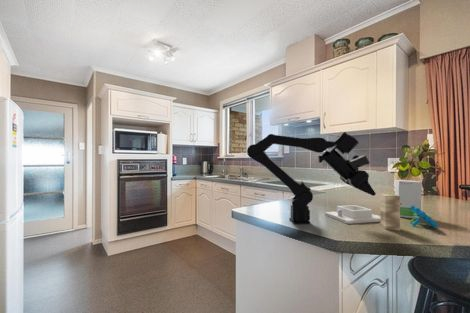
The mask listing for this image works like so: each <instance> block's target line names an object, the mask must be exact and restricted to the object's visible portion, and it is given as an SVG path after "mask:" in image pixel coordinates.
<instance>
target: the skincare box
mask: <svg viewBox="0 0 470 313" xmlns="http://www.w3.org/2000/svg"><path fill="white" fill-rule="evenodd" d="M394 194H395V195H398V196H400V218H407V219H408V218H409V219H413V216H414V215H413V214H415V213H414V212H413V211H412V209H410V207H411V206H414V207H417V208H419V210H420V211H422V181H418V180H408V179H407V180H406V179H405V180H404V179H394Z"/></svg>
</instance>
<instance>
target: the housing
mask: <svg viewBox="0 0 470 313" xmlns="http://www.w3.org/2000/svg"><path fill="white" fill-rule="evenodd" d="M324 215H325V216H326V217H329V218H332V219H334V220H337V221H338V222H341V223H344V224H346V225H350V224H351V225H352V224H363V223H364V224H365V223H375V222H376V223H377V222H381V215H377V214H373V209H370V208H369V207H363V206H360V205H356V204H352V205H336V211H324Z"/></svg>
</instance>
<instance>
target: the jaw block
mask: <svg viewBox="0 0 470 313" xmlns="http://www.w3.org/2000/svg"><path fill="white" fill-rule="evenodd" d="M380 216H381V221H380V227H382V228H383V229H384V230H389V231H401V217H400V196H398V195H395V193H380Z"/></svg>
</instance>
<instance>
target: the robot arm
mask: <svg viewBox="0 0 470 313" xmlns="http://www.w3.org/2000/svg"><path fill="white" fill-rule="evenodd" d="M273 145H280V146H286V147H294V148H301V149H302V150H303V149H304V150H307V151H310V152H313V153H315V154H321V153H322V155H318V157H317V159H318V161H317V163H319V164H322V163H323V162H325V163H326V164H327V165H328V166H329V167H330V168H331V169H333V171H334V172H335V173H337V174H338V175H339V179H340V180H341V182H342V183H344V184H346V185H349V186H350V187H353V188H354V189H358V190H359V191H362V192H364V193H366V194H369V195H370V196H373V197H374V196H376V195H377V193H376V192H375V190H374V189H373V187H372V186H371V184H370V183H369V177H370V175H369V173H368V172H367V171H366V170H362V169H359V168H361V167H363V166H366V165H369V164H370V161H369V158H368V157H367V155H365V154H364V155H360V156H359V155H357V154H356V155H352V156H351V159H346V158H345V157H344V156H343V155H344V154H346V155H348V154H349V153H350V152H352V151H353V150H354V149H355V148H356V147H357V146H358V145H360V142H359V141H358V139H356V138H355V136H352V135H351V134H348V133H347V132H346V131H343V132H342V133H341V134H340V136H339V137H338V138H337V139H336V140H335V141H333V140H332V141H331V140H326V138H324V137H308V138H303V137H302V138H301V137H293V136H286V135H278V134H273V133H270V134H268V135H267V136H266V137H264V138H263V139H261V140H259V141H258V142H257V143H255V144H251V145H249V146H248V148H247V150H246V154H247V155H248V157H249V158H251V159H252V160H254V161H255V162H257V163H259V164H260V165H263V166H264V167H265V168H266V169H267V170H268V171H270V173H272V174H273V175H274V176H275V177H276V178H277V179H278V180H280V182H282V183H283V184H284V185H285V186H286V187H287V188H289V190H290V191H291V192H292V194H293V197H292V199H291V205H290V217H289V218H288V219H289V220H290V221H291V222H292V223H293V224H295V225H296V224H298V225H301V224H311V221H310V219H311V210H310V208H309V204H310V203H311V202H312V201H313V199H314V194H313V192H312V191H311V187H310V186H308V185H306V183H305V182H304V181H303V180H301V181H300V182H299V181H296V180H295V179H294V178H293V177H292V176H291V175H289V173H288V172H286V171H285V170H284V169H282V168H281V167H280V165H278V164H277V163H276V162H274V160H272V158H270V157H269V155H268V154H267V152H266V150H268V149H269V148H271V146H273ZM328 149H331V150H330V151H328Z"/></svg>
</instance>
